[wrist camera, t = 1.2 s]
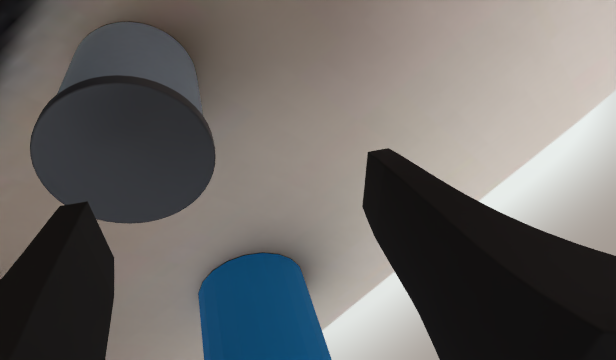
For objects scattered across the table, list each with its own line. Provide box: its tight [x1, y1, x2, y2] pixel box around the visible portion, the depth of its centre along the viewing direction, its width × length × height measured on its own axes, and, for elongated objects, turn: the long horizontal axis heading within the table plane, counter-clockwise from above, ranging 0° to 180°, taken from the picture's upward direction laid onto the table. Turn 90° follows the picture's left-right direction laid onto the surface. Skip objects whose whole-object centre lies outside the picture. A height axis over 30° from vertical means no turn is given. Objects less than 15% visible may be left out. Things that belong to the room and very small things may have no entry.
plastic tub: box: [30, 22, 215, 223], centre depth 15 cm, size 5×5×6 cm
